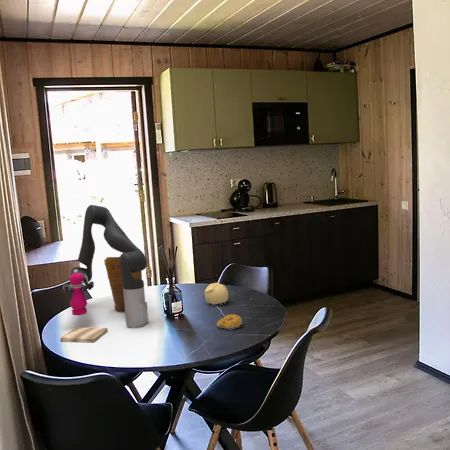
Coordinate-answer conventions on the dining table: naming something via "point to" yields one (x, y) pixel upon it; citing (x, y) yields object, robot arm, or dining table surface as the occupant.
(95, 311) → the dining table surface
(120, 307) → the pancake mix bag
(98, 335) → the birch board
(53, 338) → the dining table surface
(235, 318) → the bagel
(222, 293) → the tan round lump
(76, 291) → the pepper mill
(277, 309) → the dining table surface
